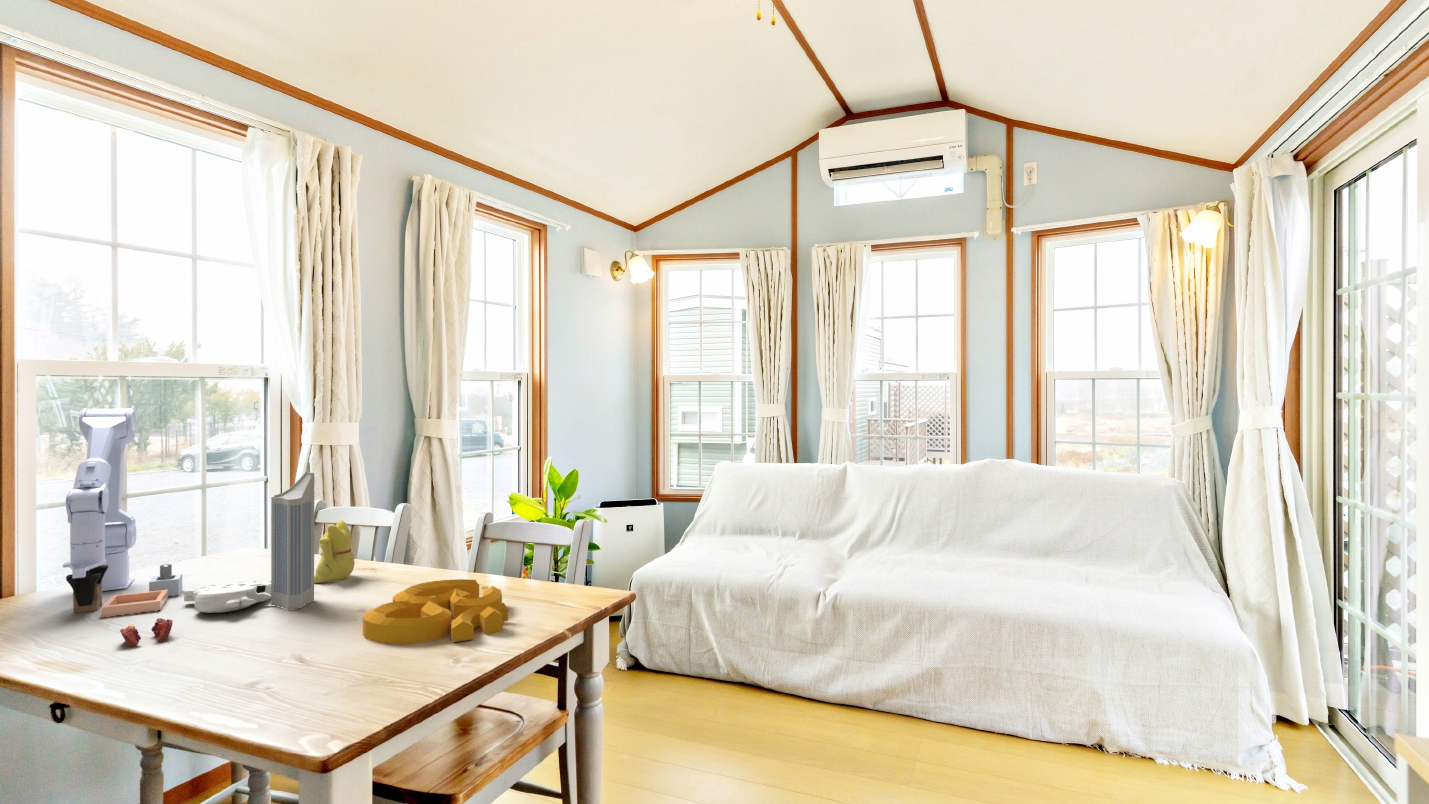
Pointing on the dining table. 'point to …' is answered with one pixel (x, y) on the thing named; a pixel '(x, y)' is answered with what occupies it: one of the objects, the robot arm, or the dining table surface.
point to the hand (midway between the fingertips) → (87, 602)
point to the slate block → (167, 584)
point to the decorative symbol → (436, 613)
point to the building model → (293, 545)
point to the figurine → (335, 554)
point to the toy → (228, 596)
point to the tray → (134, 603)
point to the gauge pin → (166, 572)
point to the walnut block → (95, 604)
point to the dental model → (159, 629)
